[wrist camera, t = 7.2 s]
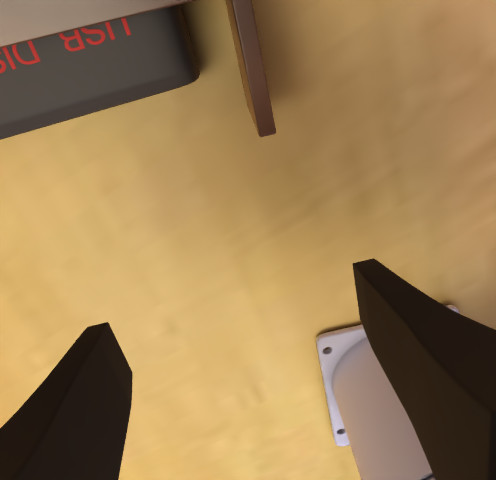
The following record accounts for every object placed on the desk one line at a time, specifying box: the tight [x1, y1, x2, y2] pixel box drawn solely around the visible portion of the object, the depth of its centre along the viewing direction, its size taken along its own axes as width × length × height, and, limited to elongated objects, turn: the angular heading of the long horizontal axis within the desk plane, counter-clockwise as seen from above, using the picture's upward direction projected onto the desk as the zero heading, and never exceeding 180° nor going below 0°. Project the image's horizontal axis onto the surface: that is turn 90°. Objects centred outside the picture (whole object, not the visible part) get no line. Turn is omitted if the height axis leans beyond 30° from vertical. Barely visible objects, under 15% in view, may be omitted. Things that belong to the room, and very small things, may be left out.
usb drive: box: [0, 4, 200, 140], centre depth 17 cm, size 5×12×3 cm, turn 105°
